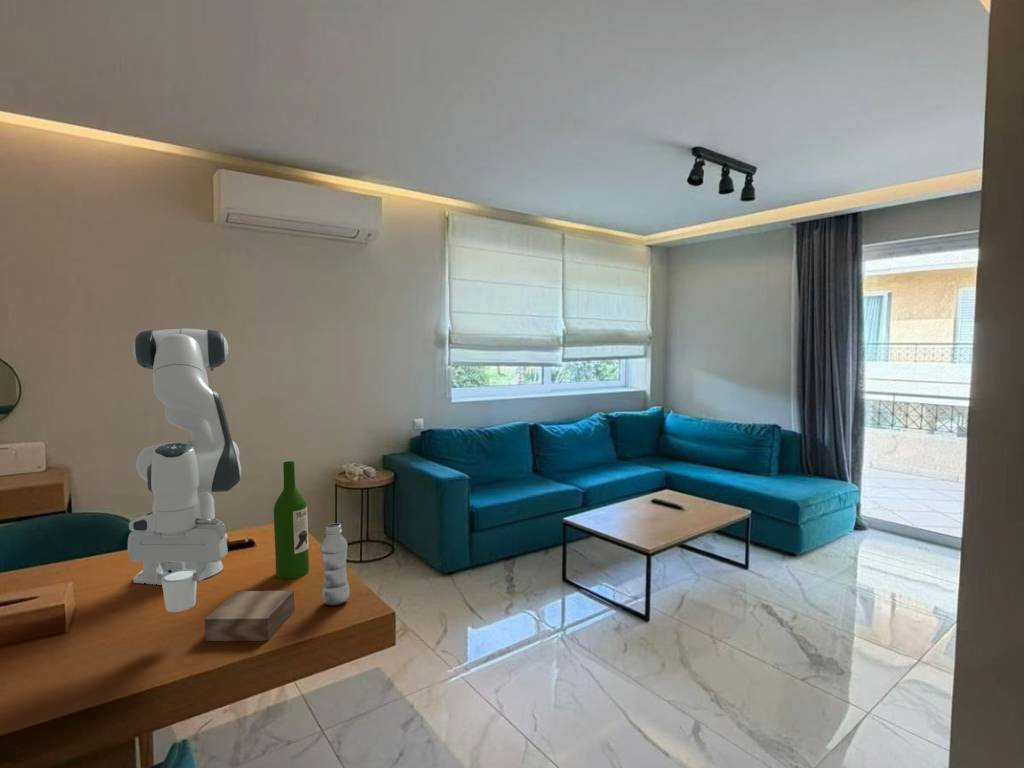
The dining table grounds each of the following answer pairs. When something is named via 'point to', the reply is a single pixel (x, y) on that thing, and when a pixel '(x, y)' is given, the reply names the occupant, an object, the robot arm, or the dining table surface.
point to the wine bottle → (291, 529)
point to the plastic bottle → (334, 566)
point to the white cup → (179, 590)
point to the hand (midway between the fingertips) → (180, 579)
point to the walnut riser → (249, 616)
